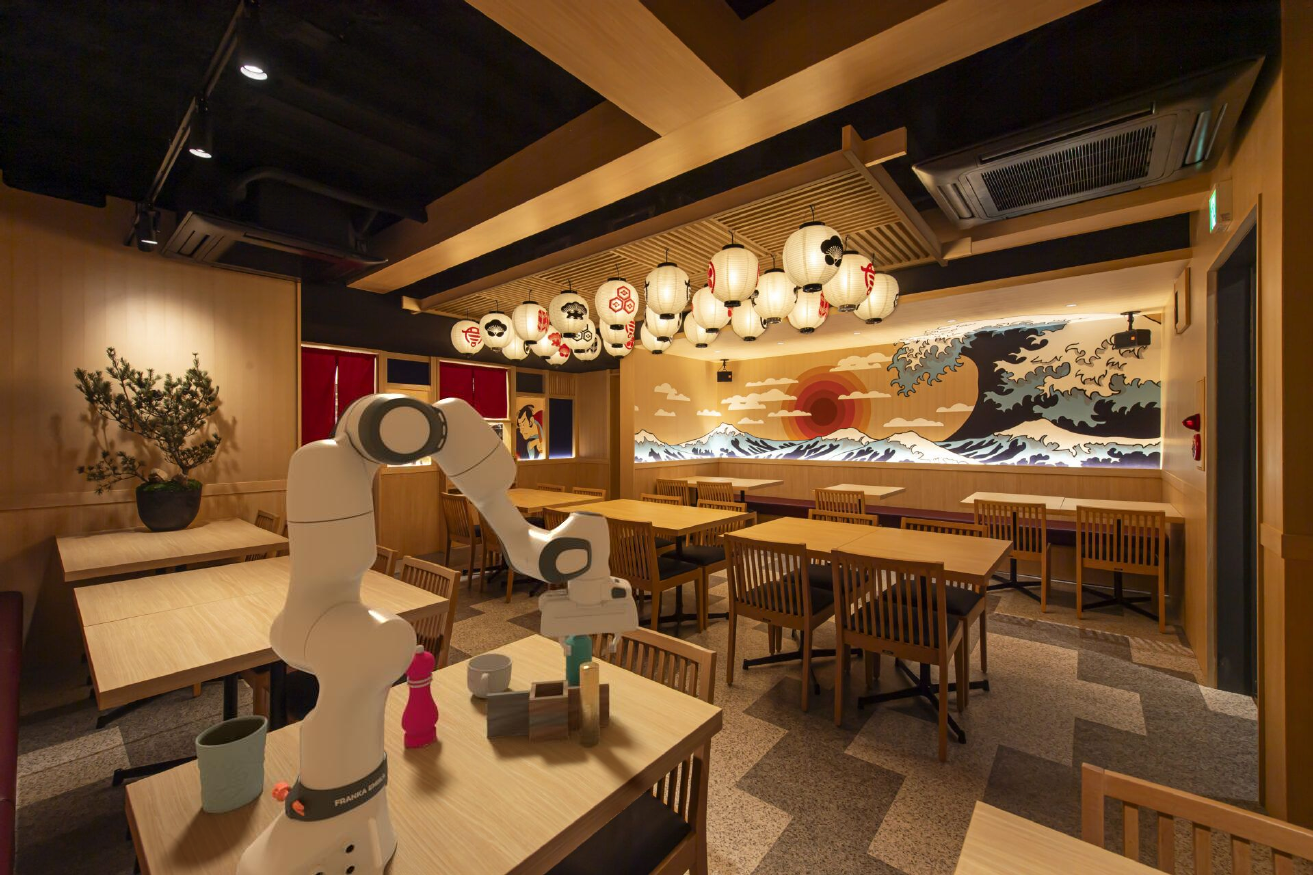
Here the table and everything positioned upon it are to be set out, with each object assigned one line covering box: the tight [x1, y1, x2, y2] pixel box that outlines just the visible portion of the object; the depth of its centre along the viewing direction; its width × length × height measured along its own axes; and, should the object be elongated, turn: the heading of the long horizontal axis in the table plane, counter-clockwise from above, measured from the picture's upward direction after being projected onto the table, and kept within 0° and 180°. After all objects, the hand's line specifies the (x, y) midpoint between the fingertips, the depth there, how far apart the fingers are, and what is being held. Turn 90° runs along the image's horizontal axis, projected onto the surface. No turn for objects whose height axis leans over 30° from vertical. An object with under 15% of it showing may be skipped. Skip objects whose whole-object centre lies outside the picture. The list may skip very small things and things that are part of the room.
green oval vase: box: [195, 715, 268, 814], centre depth 94 cm, size 10×10×12 cm
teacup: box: [466, 652, 513, 699], centre depth 130 cm, size 14×11×8 cm
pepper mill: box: [400, 644, 440, 749], centre depth 112 cm, size 7×7×20 cm
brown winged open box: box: [486, 679, 611, 744], centre depth 115 cm, size 8×26×9 cm, turn 99°
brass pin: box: [579, 661, 600, 749], centre depth 111 cm, size 4×4×16 cm
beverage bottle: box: [565, 634, 593, 687], centre depth 125 cm, size 6×7×20 cm
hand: (590, 653), depth 111 cm, fingers open, 8 cm apart
